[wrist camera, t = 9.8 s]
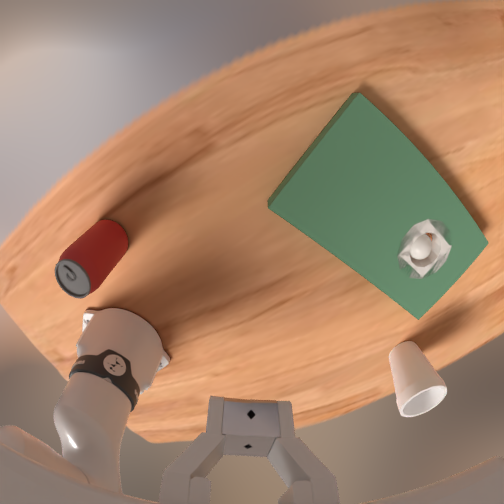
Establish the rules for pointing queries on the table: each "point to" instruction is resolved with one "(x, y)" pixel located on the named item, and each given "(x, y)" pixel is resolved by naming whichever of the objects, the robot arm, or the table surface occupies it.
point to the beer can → (91, 258)
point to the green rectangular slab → (379, 207)
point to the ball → (421, 247)
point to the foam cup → (415, 380)
